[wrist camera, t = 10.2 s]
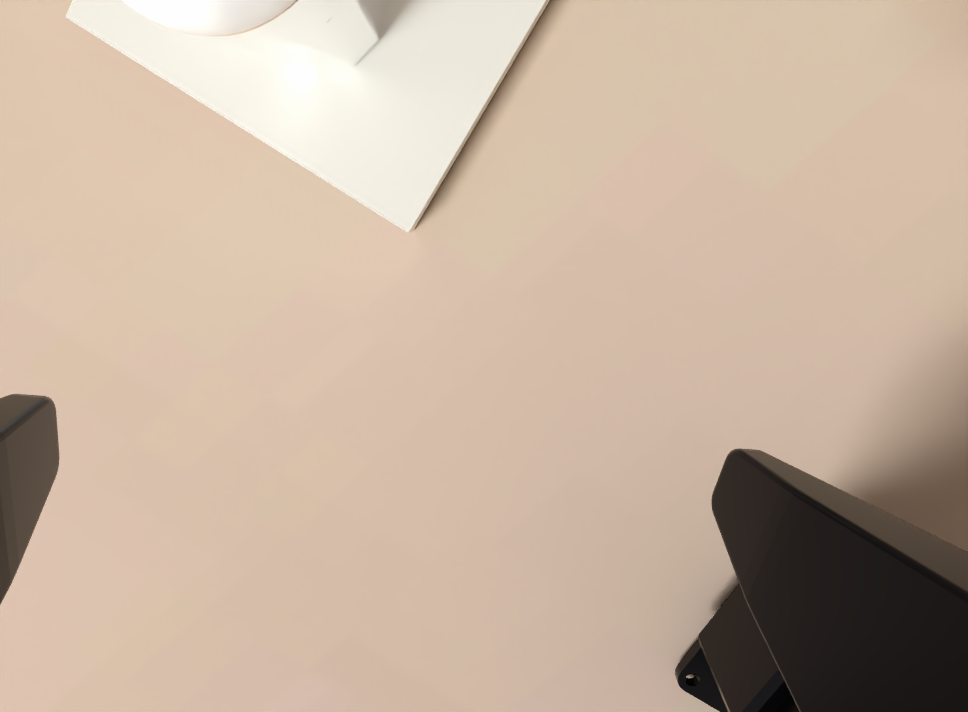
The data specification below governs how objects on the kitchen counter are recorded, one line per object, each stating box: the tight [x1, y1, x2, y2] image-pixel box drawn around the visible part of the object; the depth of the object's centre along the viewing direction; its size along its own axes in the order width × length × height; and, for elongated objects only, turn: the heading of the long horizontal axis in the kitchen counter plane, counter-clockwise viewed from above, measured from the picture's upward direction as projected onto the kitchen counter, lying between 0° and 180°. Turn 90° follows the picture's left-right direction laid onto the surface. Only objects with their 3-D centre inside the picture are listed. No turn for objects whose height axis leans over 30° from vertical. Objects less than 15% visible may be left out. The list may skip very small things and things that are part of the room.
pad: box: [66, 0, 550, 233], centre depth 19 cm, size 11×8×1 cm
